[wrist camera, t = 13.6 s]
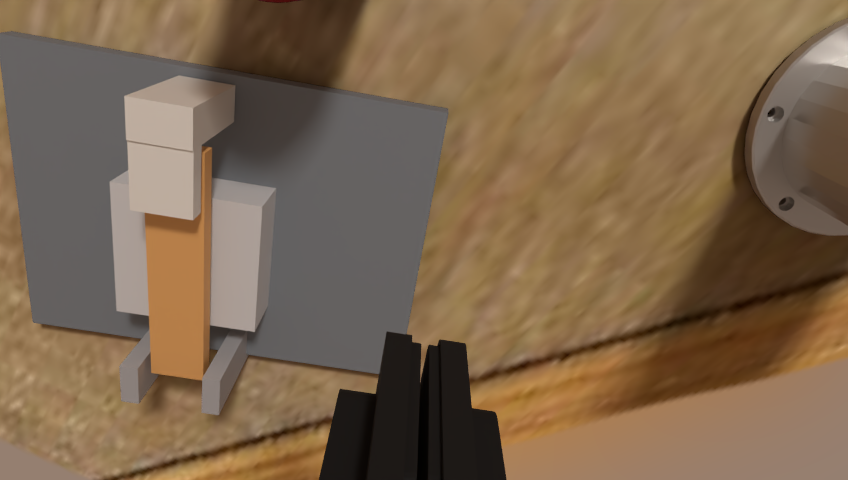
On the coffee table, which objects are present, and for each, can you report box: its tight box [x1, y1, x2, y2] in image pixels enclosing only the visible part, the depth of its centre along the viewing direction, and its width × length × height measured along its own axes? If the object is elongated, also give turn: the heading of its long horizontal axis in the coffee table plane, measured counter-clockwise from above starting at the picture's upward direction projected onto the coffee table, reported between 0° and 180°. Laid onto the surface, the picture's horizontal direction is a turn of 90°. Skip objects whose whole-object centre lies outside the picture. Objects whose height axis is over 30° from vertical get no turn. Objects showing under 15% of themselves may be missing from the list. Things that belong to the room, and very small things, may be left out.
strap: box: [145, 146, 212, 380], centre depth 31 cm, size 3×14×1 cm, turn 170°
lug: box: [124, 75, 235, 220], centre depth 29 cm, size 3×6×6 cm, turn 170°
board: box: [0, 31, 448, 415], centre depth 33 cm, size 24×18×6 cm
